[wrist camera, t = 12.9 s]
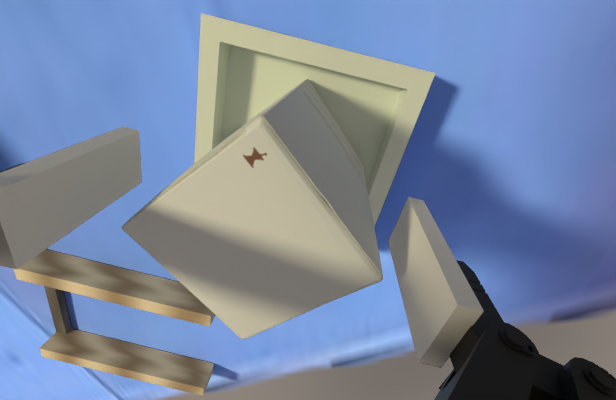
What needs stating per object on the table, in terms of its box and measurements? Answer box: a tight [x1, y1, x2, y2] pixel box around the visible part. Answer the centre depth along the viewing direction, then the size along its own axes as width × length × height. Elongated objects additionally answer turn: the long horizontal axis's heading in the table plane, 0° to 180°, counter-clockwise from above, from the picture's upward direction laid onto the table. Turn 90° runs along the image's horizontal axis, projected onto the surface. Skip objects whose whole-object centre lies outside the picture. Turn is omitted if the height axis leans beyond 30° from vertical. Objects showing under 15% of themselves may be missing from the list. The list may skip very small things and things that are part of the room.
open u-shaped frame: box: [14, 249, 215, 396], centre depth 32 cm, size 19×14×3 cm
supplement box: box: [122, 79, 383, 339], centre depth 16 cm, size 7×7×13 cm
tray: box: [194, 13, 435, 227], centre depth 21 cm, size 14×14×2 cm
